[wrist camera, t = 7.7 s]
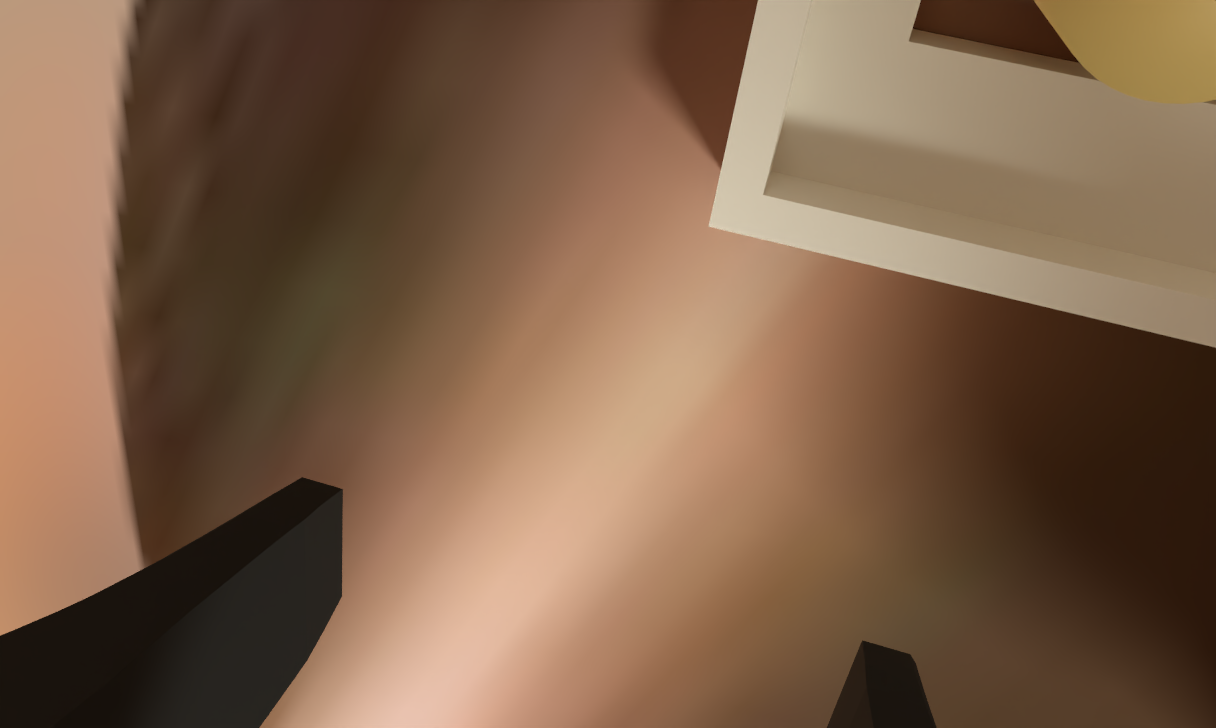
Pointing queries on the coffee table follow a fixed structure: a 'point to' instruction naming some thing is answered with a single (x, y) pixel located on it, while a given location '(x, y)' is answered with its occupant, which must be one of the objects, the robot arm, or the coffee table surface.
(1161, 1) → the peg
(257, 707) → the robot arm
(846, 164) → the bore box
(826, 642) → the coffee table surface
